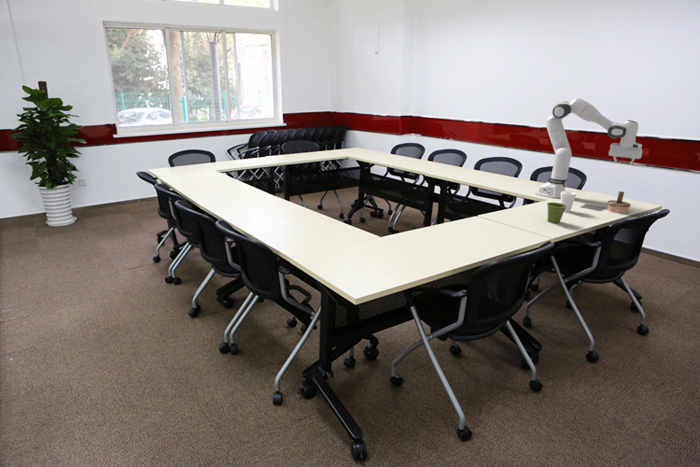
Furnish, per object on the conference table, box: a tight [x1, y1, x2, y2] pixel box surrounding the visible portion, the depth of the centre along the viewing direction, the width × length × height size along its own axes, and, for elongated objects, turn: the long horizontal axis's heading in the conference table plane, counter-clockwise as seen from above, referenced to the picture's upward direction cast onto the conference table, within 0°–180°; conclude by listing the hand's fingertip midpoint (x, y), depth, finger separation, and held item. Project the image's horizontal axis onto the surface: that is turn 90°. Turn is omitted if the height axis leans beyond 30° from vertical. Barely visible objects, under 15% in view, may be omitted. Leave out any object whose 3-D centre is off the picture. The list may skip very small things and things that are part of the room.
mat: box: [580, 203, 607, 212], centre depth 318 cm, size 14×14×1 cm
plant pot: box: [546, 201, 567, 224], centre depth 281 cm, size 12×12×11 cm
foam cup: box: [559, 190, 577, 213], centre depth 306 cm, size 10×9×13 cm
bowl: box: [606, 203, 630, 214], centre depth 311 cm, size 12×12×5 cm
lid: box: [606, 191, 631, 208], centre depth 309 cm, size 14×14×9 cm
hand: (622, 163), depth 317 cm, fingers open, 8 cm apart
